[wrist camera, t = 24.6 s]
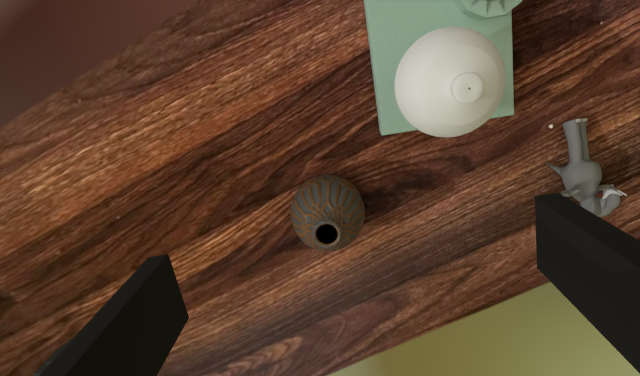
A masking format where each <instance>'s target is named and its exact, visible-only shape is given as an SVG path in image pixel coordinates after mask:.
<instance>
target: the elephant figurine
mask: <svg viewBox="0 0 640 376" xmlns="http://www.w3.org/2000/svg"><path fill="white" fill-rule="evenodd" d="M587 120H588V118H584V119H581V118H579V119H575V120H571V121H568V122H565V123H563V128H564V132H565V135H566V138H567V142H568V152H569V158H570V162H569V163H568V165H567V166H564V167H561V168H560V167H556V166H553V165H551V164H549V163H547V162H546V163H547V164H548V165H549V166H550V167H551V168H553V169H554V170H555V171H556V172H557V173H558V174H559V175H560V176H561V177H562V179H563V182H564V185H565V188H566V189H567V190H564V191H562V192H561V193H560V194H561V195H563V196H565V197H570V196H573V197H574V198H575V199H576V200H577V201H580V206H581V207H583V208H585V209H586V210H588V211H590V212H591V213H593V214H595V215H596V216H598V217H603V216H606V215H609V214H611V212H612V210H613V209H615V208H616V207H617V206H618V205H619V203H620V197H619V195H620V196H622V195H625V196H627V195H626V194H625V193H623V192H622V191H620V190H618V189H616V188H614V187H612V186H613V184H611V185H599V183H600V181H601V179H602V171H601V168H600V165H599V163H597V162H594V161H591V160H590V158H589V149H588V138H587V134H586V121H587ZM609 187H612V188H609ZM599 191H603V197H601V198H598V197H596V196H595V195H596V194H597V193H598V192H599ZM621 194H622V195H621Z"/></svg>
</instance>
